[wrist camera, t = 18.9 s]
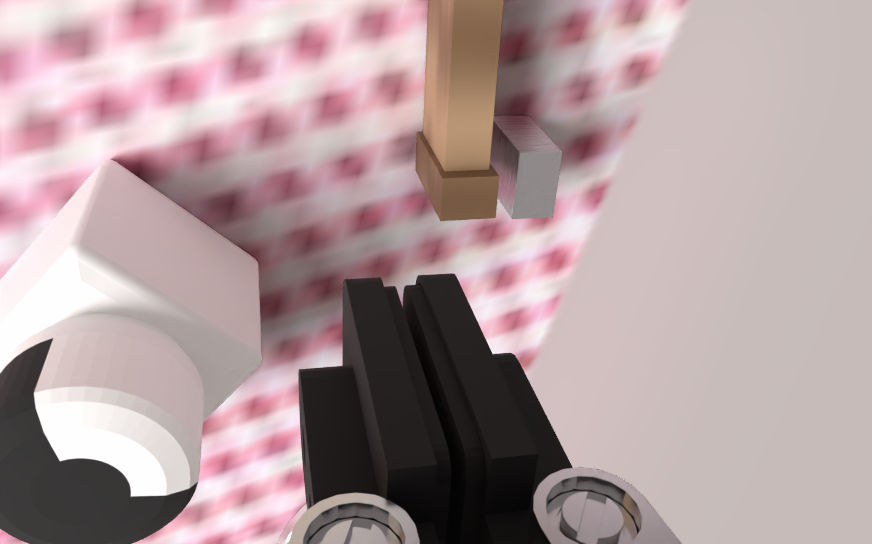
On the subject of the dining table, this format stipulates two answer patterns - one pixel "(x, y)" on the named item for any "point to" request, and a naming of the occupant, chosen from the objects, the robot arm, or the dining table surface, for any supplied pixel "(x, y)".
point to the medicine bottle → (117, 362)
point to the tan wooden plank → (460, 108)
